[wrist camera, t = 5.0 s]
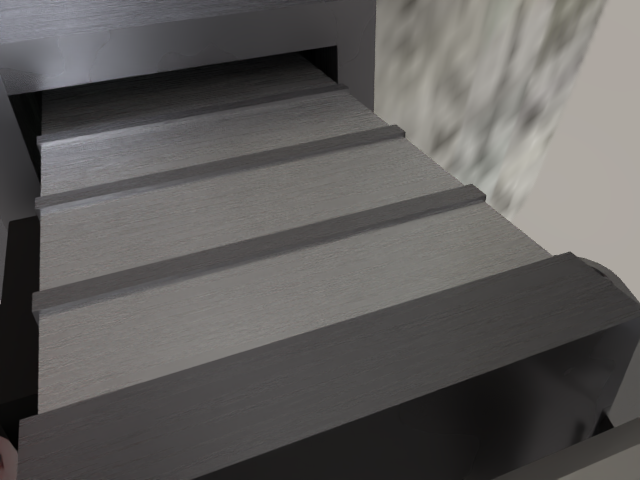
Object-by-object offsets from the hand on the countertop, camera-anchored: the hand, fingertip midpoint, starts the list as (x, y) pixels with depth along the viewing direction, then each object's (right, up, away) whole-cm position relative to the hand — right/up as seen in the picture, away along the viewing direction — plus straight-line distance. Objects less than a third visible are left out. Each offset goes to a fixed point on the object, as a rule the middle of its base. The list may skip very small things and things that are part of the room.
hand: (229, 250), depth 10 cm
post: (-4, +6, +8) cm, 11 cm away
